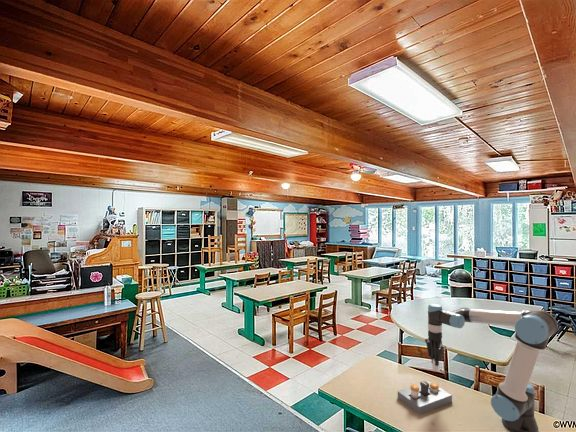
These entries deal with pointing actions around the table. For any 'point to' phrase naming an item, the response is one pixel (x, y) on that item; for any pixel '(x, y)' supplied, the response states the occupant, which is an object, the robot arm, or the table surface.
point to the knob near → (414, 391)
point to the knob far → (434, 387)
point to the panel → (425, 399)
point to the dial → (424, 388)
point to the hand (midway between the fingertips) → (435, 370)
